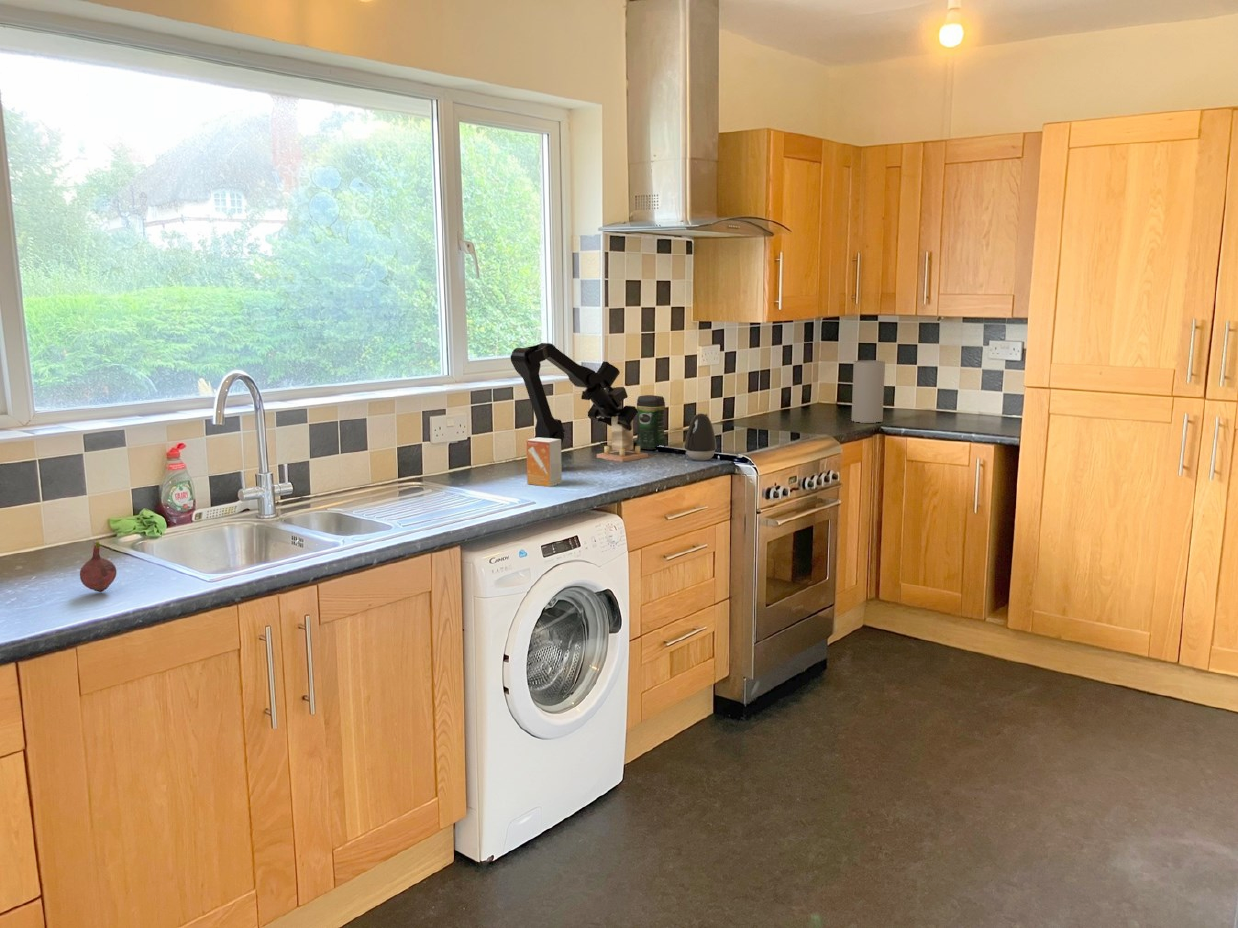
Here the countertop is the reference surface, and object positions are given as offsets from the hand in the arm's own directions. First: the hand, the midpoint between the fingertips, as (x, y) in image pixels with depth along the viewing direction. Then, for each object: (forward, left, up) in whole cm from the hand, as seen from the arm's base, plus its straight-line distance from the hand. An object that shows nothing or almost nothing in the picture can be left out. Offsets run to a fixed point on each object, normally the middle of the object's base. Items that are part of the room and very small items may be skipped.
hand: (625, 429), depth 321 cm
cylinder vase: (+128, +21, -10) cm, 130 cm away
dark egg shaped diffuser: (+19, -17, -10) cm, 27 cm away
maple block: (-1, -1, -7) cm, 7 cm away
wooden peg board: (-1, 0, -9) cm, 9 cm away
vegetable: (-157, -77, -10) cm, 175 cm away
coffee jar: (+17, +11, -10) cm, 22 cm away
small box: (-42, -27, -10) cm, 51 cm away
